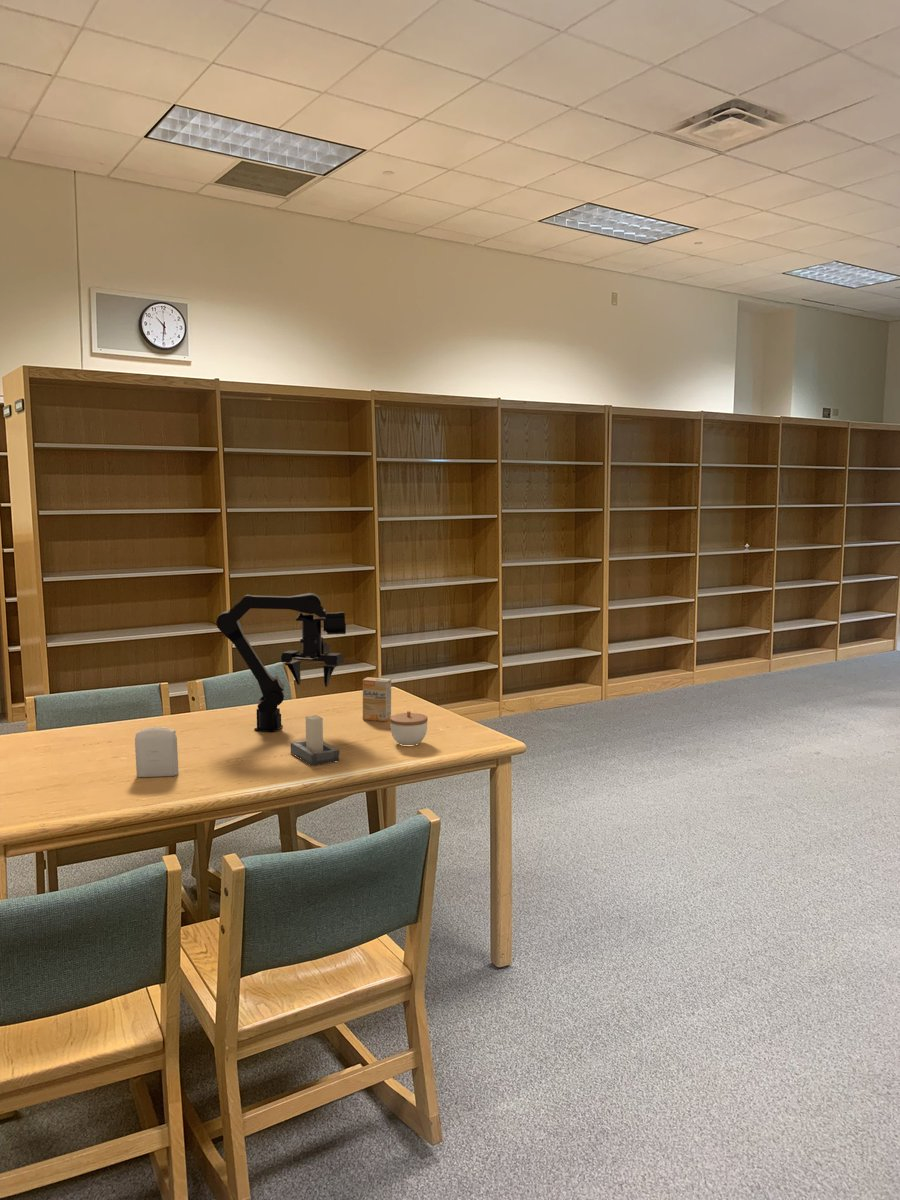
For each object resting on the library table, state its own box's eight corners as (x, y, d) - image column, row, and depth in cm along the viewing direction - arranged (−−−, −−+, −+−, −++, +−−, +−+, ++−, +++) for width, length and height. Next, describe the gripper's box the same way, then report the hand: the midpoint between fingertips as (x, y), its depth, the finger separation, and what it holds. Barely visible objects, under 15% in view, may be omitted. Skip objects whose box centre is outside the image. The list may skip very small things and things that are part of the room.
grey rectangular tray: (290, 752, 238) (290, 742, 238) (317, 748, 243) (317, 738, 242) (311, 766, 227) (311, 754, 226) (339, 761, 231) (339, 750, 231)
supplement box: (362, 720, 274) (361, 679, 273) (367, 716, 279) (367, 676, 277) (386, 722, 272) (386, 681, 270) (391, 718, 276) (391, 678, 275)
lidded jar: (413, 736, 255) (413, 705, 254) (434, 744, 247) (434, 712, 246) (383, 742, 249) (382, 710, 248) (403, 751, 240) (403, 718, 239)
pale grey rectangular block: (306, 752, 235) (305, 716, 234) (317, 750, 237) (316, 715, 236) (312, 756, 232) (311, 719, 231) (323, 754, 234) (322, 718, 233)
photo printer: (134, 778, 216) (132, 730, 215) (138, 773, 221) (136, 725, 219) (176, 777, 217) (174, 729, 216) (180, 772, 222) (178, 724, 220)
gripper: (350, 632, 267) (351, 682, 269) (296, 629, 272) (297, 678, 274) (335, 638, 256) (336, 689, 258) (279, 635, 262) (280, 685, 264)
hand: (312, 685), depth 264 cm, fingers open, 9 cm apart
